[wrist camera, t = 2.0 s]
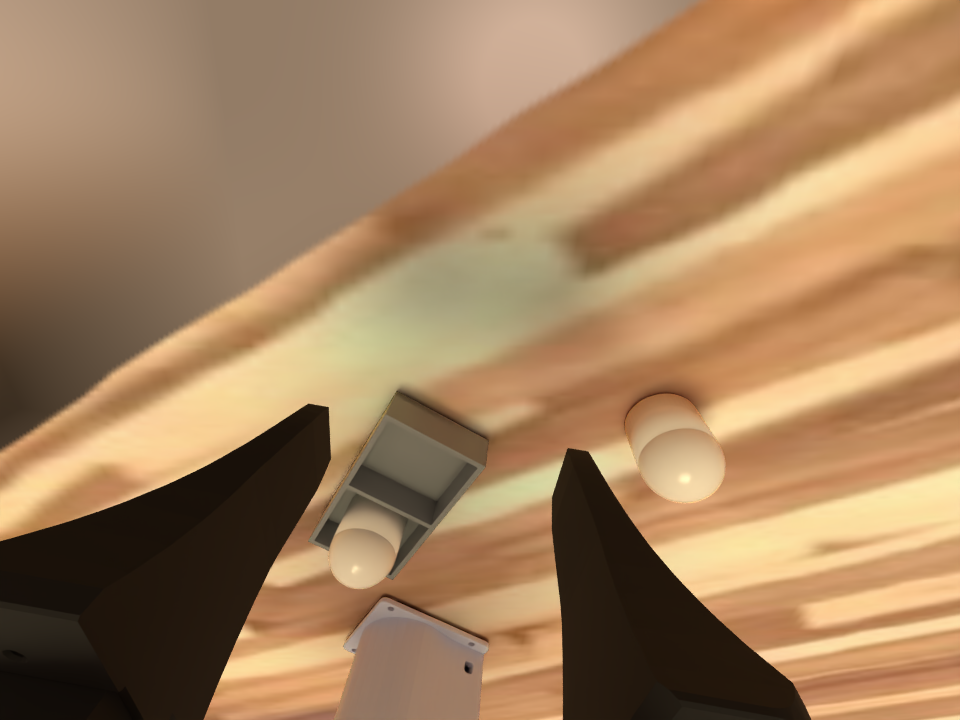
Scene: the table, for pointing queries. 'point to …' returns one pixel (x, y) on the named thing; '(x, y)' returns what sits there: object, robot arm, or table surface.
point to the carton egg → (365, 543)
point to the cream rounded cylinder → (674, 448)
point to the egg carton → (409, 473)
